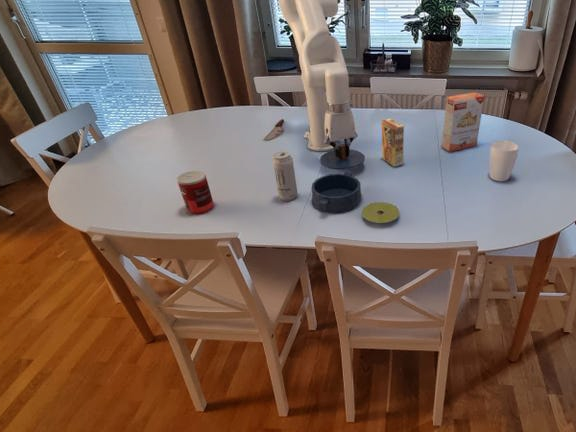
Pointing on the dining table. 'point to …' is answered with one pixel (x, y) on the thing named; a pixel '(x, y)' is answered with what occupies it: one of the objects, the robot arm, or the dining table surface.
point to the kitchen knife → (275, 131)
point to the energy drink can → (285, 176)
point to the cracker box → (462, 121)
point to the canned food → (195, 192)
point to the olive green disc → (380, 212)
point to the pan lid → (342, 159)
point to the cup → (502, 159)
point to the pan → (336, 193)
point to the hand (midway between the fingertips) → (342, 156)
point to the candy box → (392, 142)
